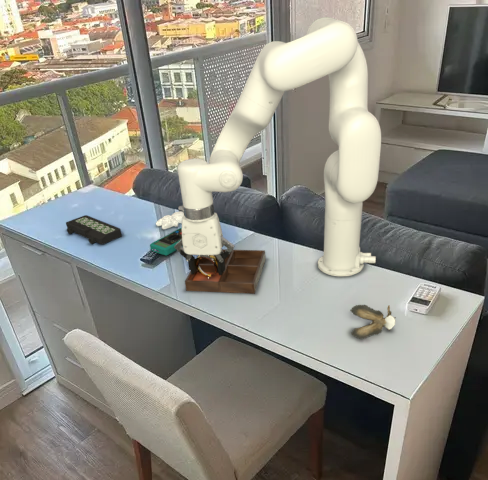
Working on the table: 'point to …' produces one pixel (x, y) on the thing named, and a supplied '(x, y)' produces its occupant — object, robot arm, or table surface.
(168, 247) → the digital multimeter
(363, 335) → the eagle figurine
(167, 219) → the astronaut figurine
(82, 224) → the digital display
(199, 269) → the ring
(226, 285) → the tray
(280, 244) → the table surface
